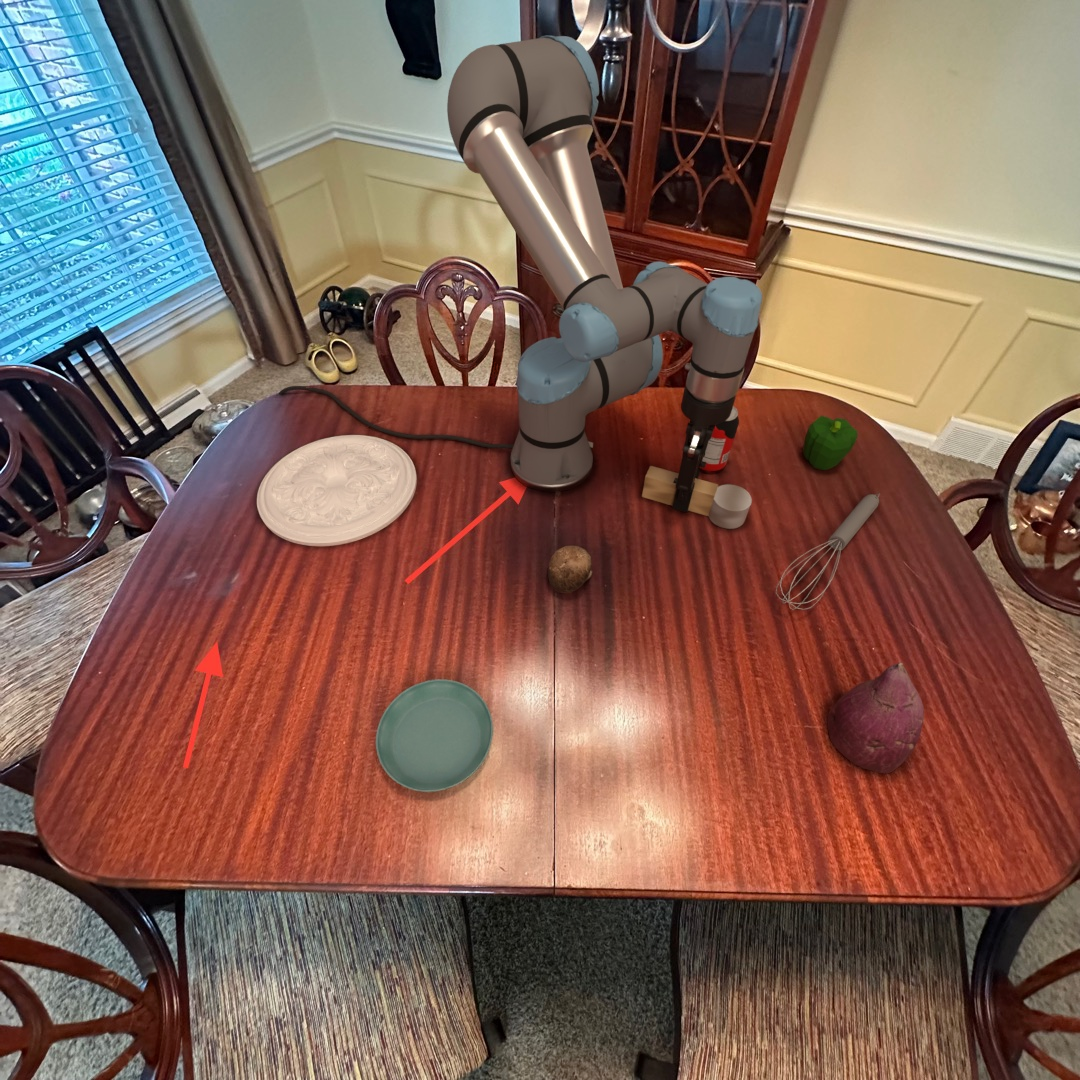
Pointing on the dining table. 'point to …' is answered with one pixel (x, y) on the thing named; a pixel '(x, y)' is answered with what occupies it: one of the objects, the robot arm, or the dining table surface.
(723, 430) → the beverage can
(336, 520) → the ceiling medallion
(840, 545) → the kitchen whisk
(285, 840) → the dining table surface
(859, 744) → the vegetable
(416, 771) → the saucer
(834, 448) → the bell pepper
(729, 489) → the scoop
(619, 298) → the robot arm
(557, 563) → the mushroom
